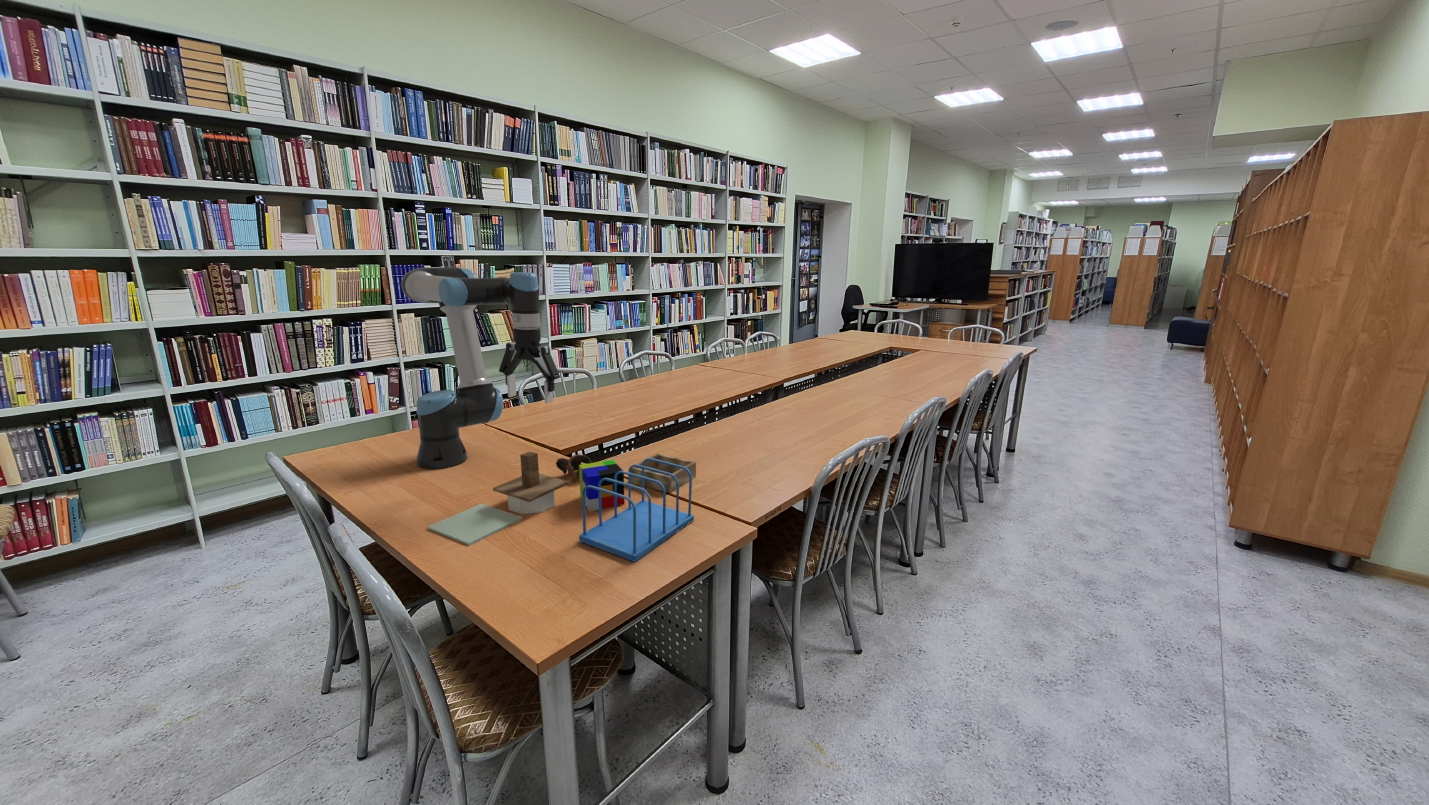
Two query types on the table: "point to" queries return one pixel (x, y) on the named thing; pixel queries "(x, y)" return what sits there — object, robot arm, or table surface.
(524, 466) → the lid
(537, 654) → the table surface
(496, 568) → the table surface
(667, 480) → the tray
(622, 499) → the puzzle toy
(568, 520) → the table surface
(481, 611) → the table surface
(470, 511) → the mat
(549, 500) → the bowl
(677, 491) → the file sorter
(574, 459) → the animal figurine
